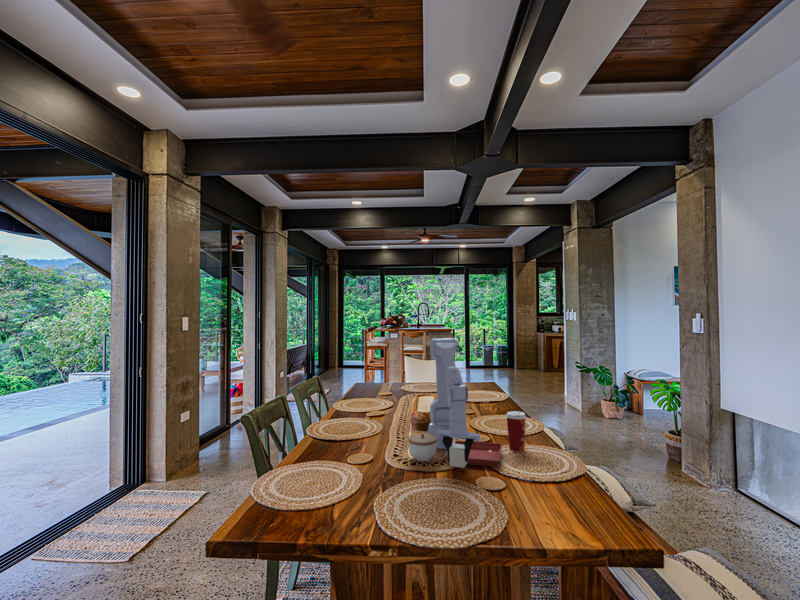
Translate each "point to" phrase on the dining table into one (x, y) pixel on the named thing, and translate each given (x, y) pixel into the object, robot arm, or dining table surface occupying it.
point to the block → (457, 455)
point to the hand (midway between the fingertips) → (458, 459)
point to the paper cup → (516, 430)
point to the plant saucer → (483, 453)
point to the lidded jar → (422, 446)
